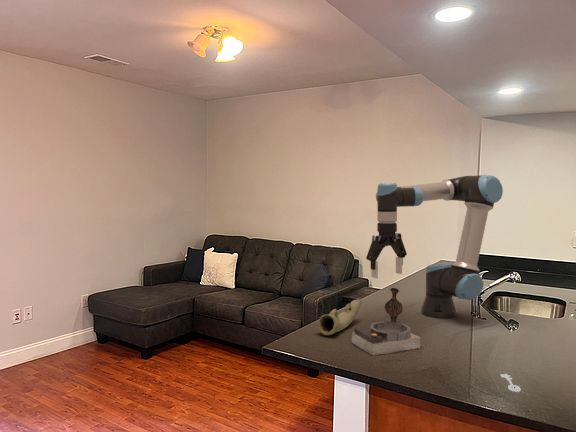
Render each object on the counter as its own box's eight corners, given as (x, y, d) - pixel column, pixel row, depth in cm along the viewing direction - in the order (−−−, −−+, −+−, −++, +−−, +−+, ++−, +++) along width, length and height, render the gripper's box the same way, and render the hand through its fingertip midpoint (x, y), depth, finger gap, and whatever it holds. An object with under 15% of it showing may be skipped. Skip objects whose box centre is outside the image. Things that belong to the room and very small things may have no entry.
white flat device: (396, 335, 172) (396, 319, 171) (420, 348, 158) (420, 330, 158) (351, 342, 164) (351, 325, 164) (372, 355, 151) (373, 337, 150)
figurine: (382, 331, 177) (382, 287, 176) (386, 328, 181) (387, 285, 180) (399, 335, 173) (400, 290, 172) (404, 331, 177) (405, 287, 176)
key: (509, 392, 125) (522, 393, 124) (509, 389, 125) (522, 390, 124) (499, 375, 137) (511, 376, 136) (499, 372, 136) (511, 373, 136)
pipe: (335, 339, 167) (335, 313, 167) (316, 335, 172) (316, 310, 171) (362, 320, 191) (363, 298, 191) (345, 317, 196) (345, 295, 195)
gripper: (401, 220, 183) (401, 270, 184) (356, 223, 169) (357, 277, 171) (415, 221, 177) (415, 273, 178) (370, 224, 163) (370, 281, 164)
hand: (387, 275), depth 174 cm, fingers open, 13 cm apart
